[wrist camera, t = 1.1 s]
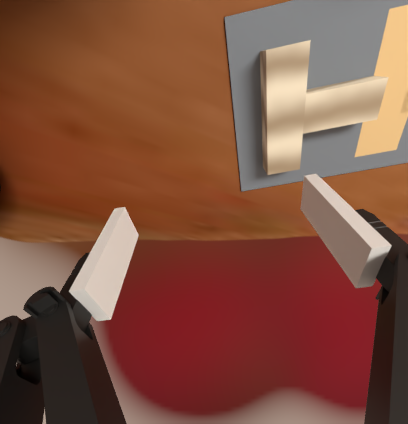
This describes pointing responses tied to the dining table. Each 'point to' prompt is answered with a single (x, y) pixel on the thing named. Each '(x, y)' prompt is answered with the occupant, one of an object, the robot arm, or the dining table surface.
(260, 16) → the push mat
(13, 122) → the dining table surface
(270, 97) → the t block
